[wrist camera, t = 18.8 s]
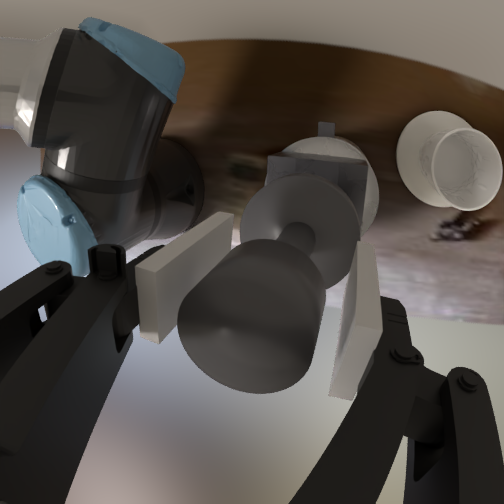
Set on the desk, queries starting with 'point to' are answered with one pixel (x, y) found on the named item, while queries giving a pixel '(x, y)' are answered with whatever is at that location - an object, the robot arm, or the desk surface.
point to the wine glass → (271, 286)
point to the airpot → (331, 168)
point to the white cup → (461, 167)
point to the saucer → (409, 152)
